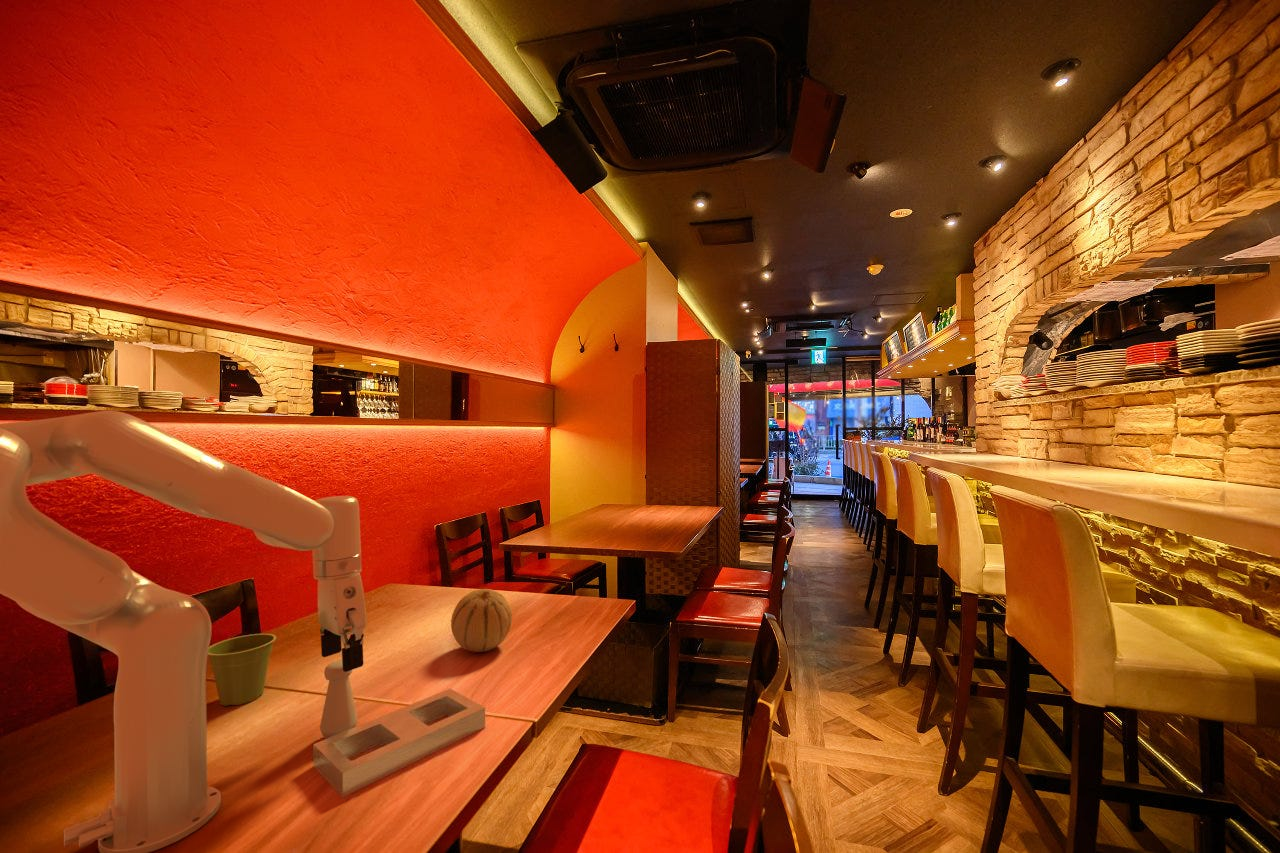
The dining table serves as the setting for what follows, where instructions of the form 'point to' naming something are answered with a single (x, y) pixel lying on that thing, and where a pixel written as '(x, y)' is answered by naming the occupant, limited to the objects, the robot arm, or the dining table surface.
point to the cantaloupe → (481, 620)
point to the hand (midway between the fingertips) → (342, 661)
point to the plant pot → (241, 667)
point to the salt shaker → (338, 702)
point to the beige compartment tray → (396, 740)
